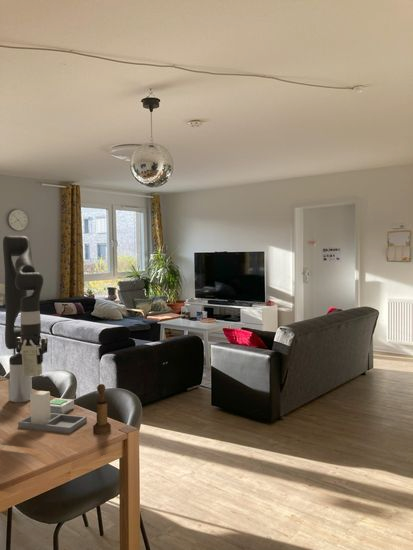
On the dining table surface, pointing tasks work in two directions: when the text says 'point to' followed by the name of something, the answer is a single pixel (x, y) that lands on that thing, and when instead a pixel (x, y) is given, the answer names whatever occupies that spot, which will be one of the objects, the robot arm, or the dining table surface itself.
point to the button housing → (62, 406)
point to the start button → (58, 402)
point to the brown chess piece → (101, 414)
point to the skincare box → (30, 361)
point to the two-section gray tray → (55, 423)
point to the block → (40, 407)
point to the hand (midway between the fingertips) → (32, 363)
